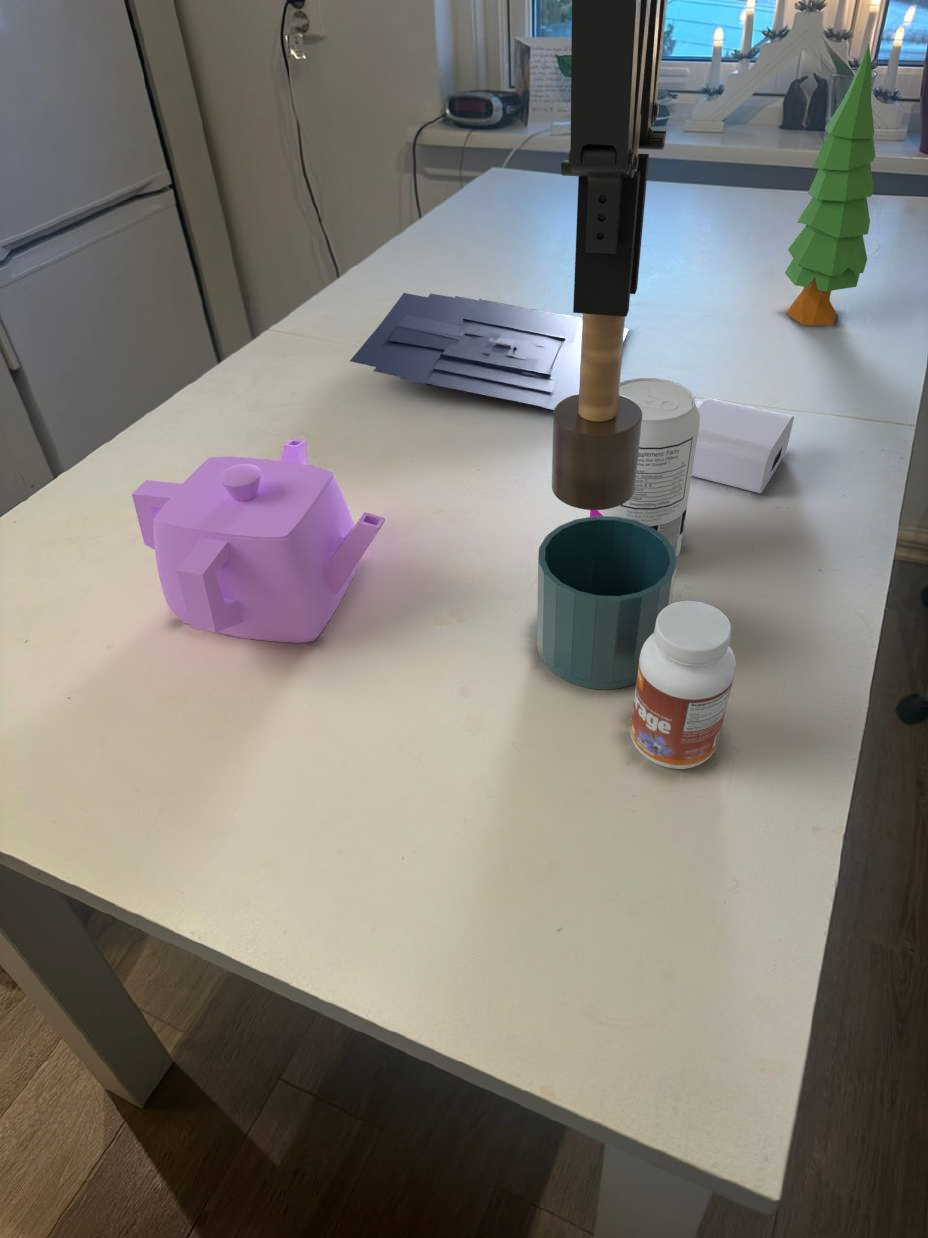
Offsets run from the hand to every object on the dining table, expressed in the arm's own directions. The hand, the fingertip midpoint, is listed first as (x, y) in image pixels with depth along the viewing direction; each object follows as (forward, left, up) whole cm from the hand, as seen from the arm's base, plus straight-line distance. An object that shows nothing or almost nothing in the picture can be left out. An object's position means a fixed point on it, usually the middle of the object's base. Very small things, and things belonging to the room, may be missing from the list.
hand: (605, 299), depth 45 cm
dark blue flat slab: (+56, -7, -31) cm, 65 cm away
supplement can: (+16, -10, -31) cm, 36 cm away
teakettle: (+19, +22, -31) cm, 42 cm away
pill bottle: (-5, -5, -31) cm, 32 cm away
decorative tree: (+56, -50, -31) cm, 82 cm away
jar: (+5, -3, -30) cm, 31 cm away
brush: (0, 0, -11) cm, 11 cm away
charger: (+29, -23, -31) cm, 48 cm away
